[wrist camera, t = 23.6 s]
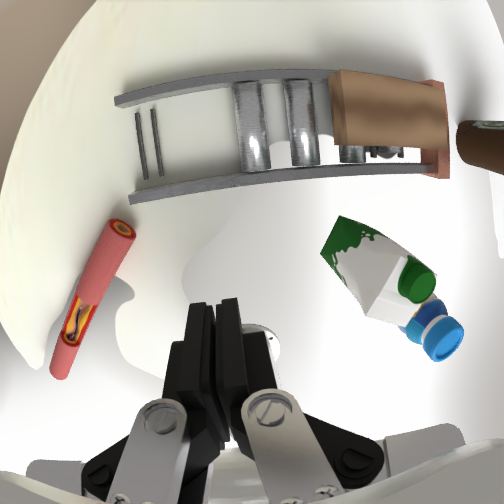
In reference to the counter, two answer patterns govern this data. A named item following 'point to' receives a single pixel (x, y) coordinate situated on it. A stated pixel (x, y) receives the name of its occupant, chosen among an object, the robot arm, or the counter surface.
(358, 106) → the slab
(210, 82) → the track
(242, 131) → the roller
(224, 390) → the robot arm
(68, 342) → the artery
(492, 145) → the olive oil
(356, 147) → the roller
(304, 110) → the roller
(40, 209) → the counter surface
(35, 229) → the counter surface
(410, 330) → the beverage bottle
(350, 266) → the milk carton
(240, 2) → the counter surface
